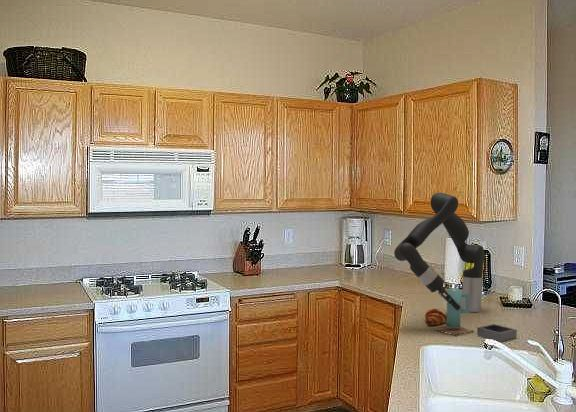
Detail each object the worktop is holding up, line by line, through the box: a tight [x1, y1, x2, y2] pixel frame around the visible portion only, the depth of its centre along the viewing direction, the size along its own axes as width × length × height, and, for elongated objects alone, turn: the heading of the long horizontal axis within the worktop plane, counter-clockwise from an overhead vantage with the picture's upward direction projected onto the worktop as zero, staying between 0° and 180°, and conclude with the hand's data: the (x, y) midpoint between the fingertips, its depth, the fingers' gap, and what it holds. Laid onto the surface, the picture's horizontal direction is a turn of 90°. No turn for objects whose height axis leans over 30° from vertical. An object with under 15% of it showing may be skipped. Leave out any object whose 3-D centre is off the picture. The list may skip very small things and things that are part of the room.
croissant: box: [424, 308, 447, 326], centre depth 262 cm, size 21×10×8 cm, turn 150°
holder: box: [476, 323, 518, 343], centre depth 238 cm, size 11×11×4 cm
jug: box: [445, 287, 469, 328], centre depth 246 cm, size 9×6×16 cm, turn 82°
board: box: [433, 325, 475, 336], centre depth 246 cm, size 12×12×1 cm
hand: (457, 307), depth 245 cm, fingers closed on jug, 6 cm apart
